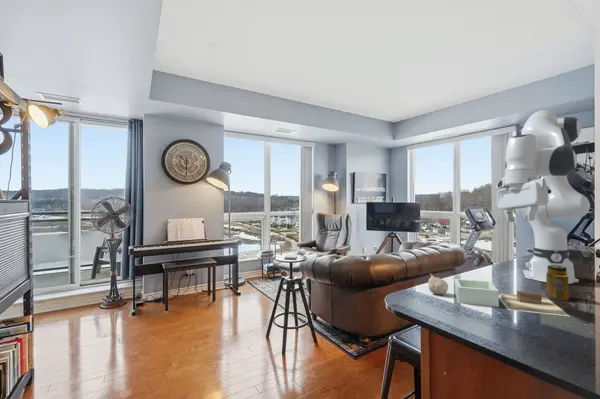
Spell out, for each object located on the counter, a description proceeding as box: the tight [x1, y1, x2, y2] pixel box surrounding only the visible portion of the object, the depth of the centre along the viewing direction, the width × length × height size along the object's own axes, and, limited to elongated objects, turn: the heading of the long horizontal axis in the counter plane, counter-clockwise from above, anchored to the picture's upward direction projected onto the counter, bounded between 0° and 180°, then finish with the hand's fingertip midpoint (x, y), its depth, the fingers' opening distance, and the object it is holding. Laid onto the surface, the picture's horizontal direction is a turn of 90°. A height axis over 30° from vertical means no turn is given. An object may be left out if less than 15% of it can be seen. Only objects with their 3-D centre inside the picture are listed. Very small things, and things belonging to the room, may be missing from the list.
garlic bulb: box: [427, 272, 449, 295], centre depth 114 cm, size 7×6×8 cm
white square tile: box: [499, 294, 570, 317], centre depth 99 cm, size 16×16×1 cm
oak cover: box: [499, 290, 566, 315], centre depth 99 cm, size 14×14×4 cm
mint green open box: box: [454, 278, 500, 308], centre depth 105 cm, size 12×12×6 cm
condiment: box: [545, 265, 570, 301], centre depth 105 cm, size 7×8×12 cm
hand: (519, 221), depth 96 cm, fingers open, 8 cm apart
